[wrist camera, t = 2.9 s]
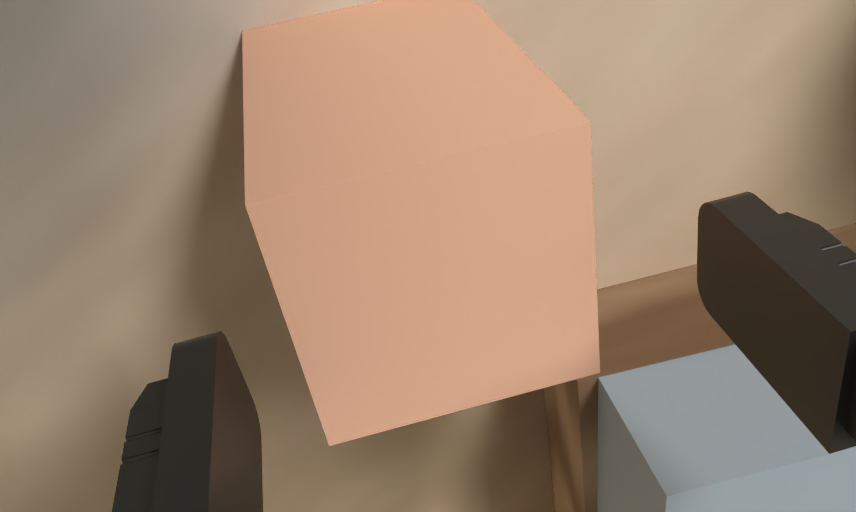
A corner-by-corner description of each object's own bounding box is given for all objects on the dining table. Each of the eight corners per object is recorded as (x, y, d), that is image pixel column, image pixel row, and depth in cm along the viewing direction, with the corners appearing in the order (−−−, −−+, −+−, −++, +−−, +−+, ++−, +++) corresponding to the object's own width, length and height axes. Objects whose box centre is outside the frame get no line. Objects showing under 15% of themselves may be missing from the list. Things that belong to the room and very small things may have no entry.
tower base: (530, 295, 24) (577, 382, 20) (914, 197, 25) (1018, 265, 21) (554, 543, 31) (591, 636, 28) (849, 460, 32) (918, 540, 29)
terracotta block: (242, 31, 17) (244, 205, 10) (458, -18, 17) (590, 121, 11) (299, 217, 20) (328, 446, 13) (483, 172, 20) (600, 372, 14)
